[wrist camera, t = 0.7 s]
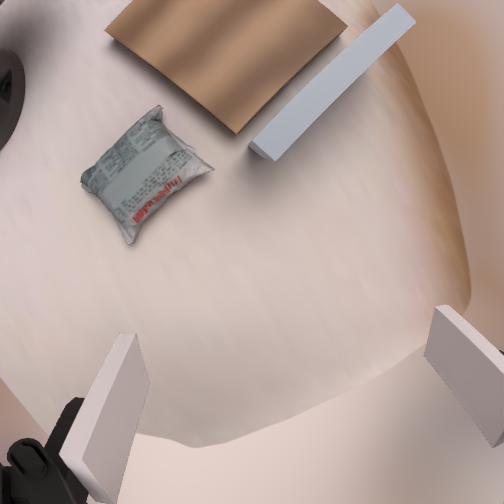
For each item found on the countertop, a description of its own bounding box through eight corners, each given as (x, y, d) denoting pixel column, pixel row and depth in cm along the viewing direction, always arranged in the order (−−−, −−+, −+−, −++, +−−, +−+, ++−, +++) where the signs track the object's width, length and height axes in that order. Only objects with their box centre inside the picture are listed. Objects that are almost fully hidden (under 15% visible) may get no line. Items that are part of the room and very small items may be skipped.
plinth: (114, 38, 27) (104, 30, 24) (216, -52, 24) (214, -66, 21) (236, 135, 31) (236, 133, 28) (339, 35, 28) (348, 26, 25)
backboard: (247, 145, 31) (252, 140, 20) (349, 44, 28) (397, 3, 17) (262, 158, 32) (275, 161, 20) (363, 57, 28) (416, 21, 17)
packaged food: (216, 168, 32) (212, 170, 27) (134, 241, 34) (118, 254, 29) (163, 106, 30) (150, 98, 25) (86, 182, 32) (64, 186, 27)
